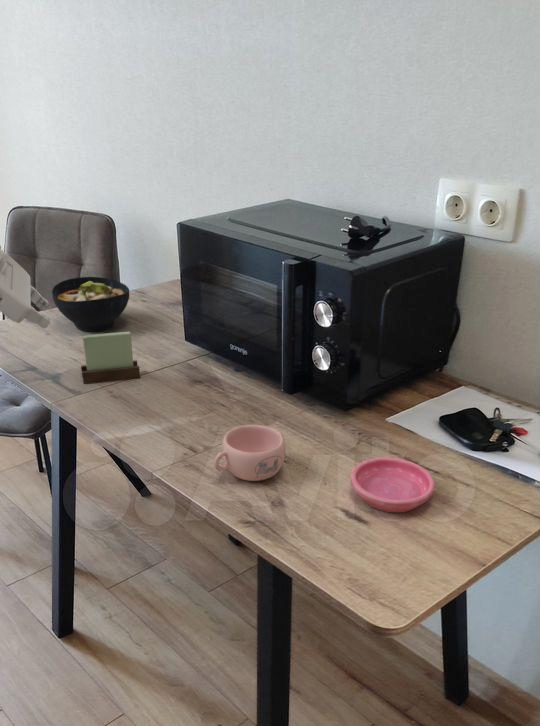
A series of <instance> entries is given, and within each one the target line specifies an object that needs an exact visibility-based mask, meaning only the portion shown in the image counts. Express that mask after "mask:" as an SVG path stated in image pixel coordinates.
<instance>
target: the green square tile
mask: <svg viewBox="0 0 540 726" xmlns="http://www.w3.org/2000/svg"><path fill="white" fill-rule="evenodd" d="M131 334H132V333H131V331H118V332H109V333H108V332H107V333H95V334H94V333H93V334H83V335H82V342H83V350H84V358H85V365H86V368H87V371H90V370H100V369H110V368H121V367H131V366H133V361H134V358H133V357H134V356H133V345H132V335H131Z"/></svg>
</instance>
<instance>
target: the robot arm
mask: <svg viewBox="0 0 540 726" xmlns="http://www.w3.org/2000/svg"><path fill="white" fill-rule="evenodd" d="M32 303H33V304H34V305H35V307H37V308H38V309H39V310H41V311H43V312H44V311H46V310H47V308H49V301H48V300H47V299H46V298H44V297H43V296H42V295H41V294H40V293H39V292H38V290H37V289H36V288H35V287H34V286H33V285H32V283H31V276H30V274H29V273H28V272H27V271H26V269H24V268H23V267H22V265H20V264H19V263H18V262H17V261H16V260H14V259H13V258H12V257H11V256H10V255H9V254H8V253H6V252H5V251H4V250H2V246H1V245H0V313H1V314H3V315H4V316H5V317H7V318H8V319H9V320H11V321H12V322H15V323H17V324H21V323H22V322H23V321H24V319H25V320H27V321H29V322H31V323H33V324H36V325H37V326H39V327H40V328H41V329H44V330H45V329H47V328H48V327H49V325H51V320H50V317H48V316H47V315H46V314H44V313H41V312H39V311H37V310H36V308H34V306H32Z"/></svg>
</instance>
